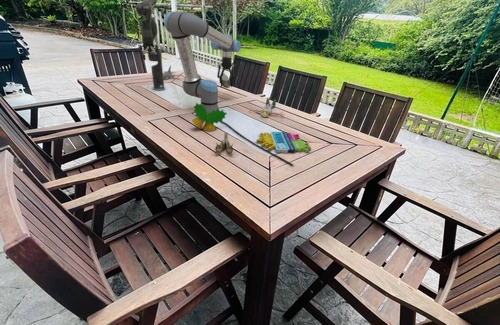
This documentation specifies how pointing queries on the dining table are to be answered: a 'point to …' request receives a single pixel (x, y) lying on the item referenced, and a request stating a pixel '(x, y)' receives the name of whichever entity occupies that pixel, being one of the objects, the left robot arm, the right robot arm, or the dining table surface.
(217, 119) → the ornament
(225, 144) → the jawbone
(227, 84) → the snakeskin print shoe
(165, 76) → the airplane
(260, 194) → the dining table surface
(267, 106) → the toy
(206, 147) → the dining table surface
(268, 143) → the sign
